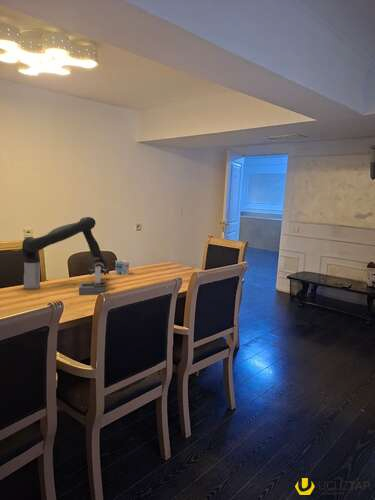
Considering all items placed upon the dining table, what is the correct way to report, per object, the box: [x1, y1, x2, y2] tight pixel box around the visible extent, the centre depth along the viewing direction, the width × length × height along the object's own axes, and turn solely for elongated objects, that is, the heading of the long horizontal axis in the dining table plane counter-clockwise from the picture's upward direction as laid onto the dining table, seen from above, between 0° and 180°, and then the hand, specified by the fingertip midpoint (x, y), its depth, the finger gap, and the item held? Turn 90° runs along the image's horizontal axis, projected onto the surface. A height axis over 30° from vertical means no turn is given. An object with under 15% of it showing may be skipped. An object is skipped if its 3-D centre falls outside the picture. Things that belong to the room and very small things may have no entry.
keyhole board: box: [78, 280, 106, 296], centre depth 224 cm, size 16×12×6 cm
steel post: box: [94, 266, 102, 284], centre depth 223 cm, size 6×6×15 cm
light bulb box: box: [114, 259, 130, 276], centre depth 279 cm, size 11×7×11 cm, turn 105°
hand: (97, 273), depth 225 cm, fingers open, 8 cm apart
